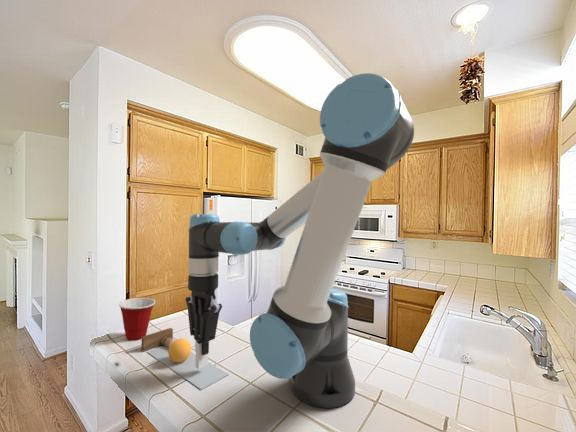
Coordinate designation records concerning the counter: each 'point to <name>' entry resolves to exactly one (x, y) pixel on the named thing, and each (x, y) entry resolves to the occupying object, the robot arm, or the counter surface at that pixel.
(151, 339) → the board
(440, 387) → the counter surface
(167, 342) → the pin
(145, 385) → the counter surface
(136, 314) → the plastic cup
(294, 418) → the counter surface
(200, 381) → the lane mark
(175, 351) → the ball
